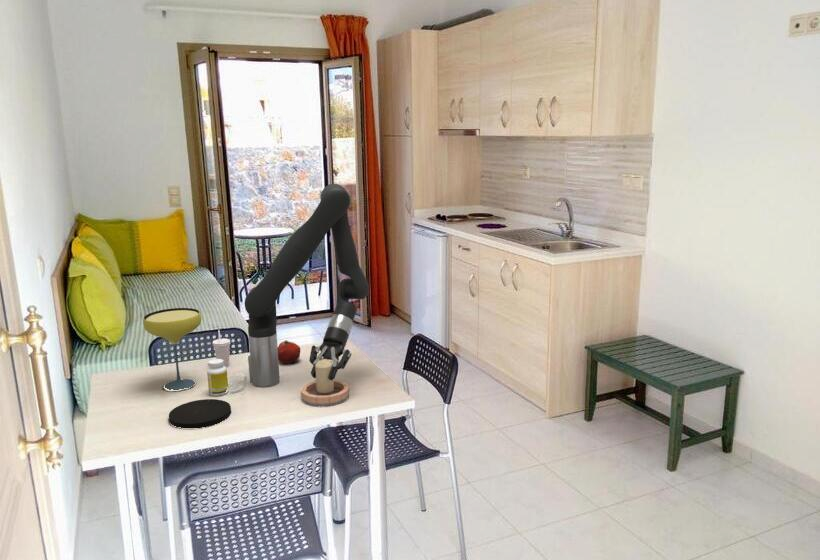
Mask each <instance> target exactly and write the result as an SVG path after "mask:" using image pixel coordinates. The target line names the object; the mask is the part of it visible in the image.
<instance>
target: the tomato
mask: <svg viewBox="0 0 820 560" xmlns="http://www.w3.org/2000/svg"><path fill="white" fill-rule="evenodd" d="M277 346H278V361H279V362H280V363H284V364H285V363H286V364H289V363H295V362H297V361H298V360H299V358H300V357H301V356H300V355H301V347H300V345H298V344H297V343H295V342H292V341H289V340H284V341H282V342H280V343H279V344H278V345H277Z"/></svg>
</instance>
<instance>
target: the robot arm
mask: <svg viewBox="0 0 820 560" xmlns="http://www.w3.org/2000/svg"><path fill="white" fill-rule="evenodd" d="M350 205H351V196H350V194H349V192H348V191H347V189H346V188H345V187H343V186H342V185H340V184H338V183H330V184H328V185H326V186H325V187H324V188H323V189H322V190H321V193H320V201H319V204H317V207H316V208H315V210H314V211H313V213H312V214H311V215H310V217H309V218H308V219H307V220H306V221H305V222H304V223H303V224H301V226H299V227H298V228H297V229H296V230H295V231H294V232H293V233H292V234H291V236H290V237H289V238H288V239H287V240H286V242H284V244H283V246H282V247H281V249H280V250H279V252H278V253H277V255H276V257H275V258H274V260H273V262H272V264H271V265H270V267H269V269H268V271H267V272H266V274H265V275H264V276H263V278H262V279H261V280H260V282H259V283H258V284H257V285H256V286H254V287H253V288H251V289H250V290H249V292H248V293H247V294H246V296H245V298H244V308H245V311H246V313H247V314H248V327H247V328H248V329H247V332H248V344H249V345H248V346H249V355H248V357H247V363H248V375H249V376H248V377H249V384H252V385H253V386H255V387H259V388H264V387H265V388H266V387H267V388H268V387H271V386H275V385H277V384H279V383H280V379H281V378H280V365H279V364H280V363H279V362H280V361H279V360H278V346H279V345H278V334H277V323H278V322H277V317H278V316H277V303H276V302H277V300H278V299H279V297H280V295H281V294H282V292H283V291H284V290H285V288H286V287H287V286H288V284H289V283H290V282H292V281H293V279H294V278H295V277H296V276H297V275H298V274H299V273H300V272H301V270H302V269H303V268H304V267H305V266H306V264H307V263H308V261H309V260H310V258H311V257H312V256H313V255H314V254H315V252H316V250H317V249H318V247H319V246H320V244H321V243H322V241H323V240H324V238H325V236H327V233H328V232H329V231H330V230H331V235H332V240H333V247H334V251H335V258H336V262H337V263H336V264H337V268H338V271H339V273H340V274H342V275H345V276H347V277H348V278H343V279H342V280H340V282H339V283H338V285H337V291H336V294H337V295H336V304H335V308H334V311H333V314H332V317H331V318H330V321H329V322H328V326H327V327H326V331H325V333H324V336H323V339H322V343H321V345H319V346H316V345H313V344H312V346H311V349H310V355H309V360H308V361H309V362H310V364H311V365H312V368H311V371H310V375H311V377H312V378H314V379H316V370H315V365H316V364H317V362H318V361H319V360H322V359H328V360H329V361H331V363H332V364H333V367H332V368H331V370H330V373H329V376H328V378H329V380H333V379H334V380H335V378H336V376H337V373H338V371H339V370H340V369H341V370H344V369H345V367H346V366H347V364H348V362H349V361H350V358H351V356H352V353H351V351H350V350H349V349H345V348H346V347H347V346H346V345H347V343H348V340H349V337H350V334H351V330H352V326H353V323H354V319H355V316H356V313H357V310H358V309H357V308H358V307H357V305H355V304H354V303H353V302H351V301H350V300H364V299H366V298H367V296H368V295H369V292H370V287H369V282H368V280H367V278H366V276H365V274H364V272H363V270H362V268H361V266H360V262H359V257H358V252H357V248H356V245H355V241H354V238H353V234H352V229H351V226H350V222H349V216H348V215H349V214H348V210H349V207H350ZM340 357H341V359H340Z"/></svg>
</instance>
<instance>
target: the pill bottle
mask: <svg viewBox="0 0 820 560" xmlns="http://www.w3.org/2000/svg"><path fill="white" fill-rule="evenodd" d="M223 365H224V361H223V359H217V358H213V359H210V360H209V361H208V368H207V370H206V376H207V384H208V393H209V395H211V396H212V395H213V397H219V396H220V395H221V396H224V395H226V394H225V392H226V390H227V387H228V388H229V380H228V369H227V367H225V366H223Z"/></svg>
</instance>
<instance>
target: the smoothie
mask: <svg viewBox="0 0 820 560" xmlns="http://www.w3.org/2000/svg"><path fill="white" fill-rule="evenodd" d="M217 333H218V338H217V339H214V340H213V341H212V346H213V350H214V352H215V353H214V354H215V359H223V361H224V365H223V366H225V367H226V368H228V367H229V366H230V348H231V343H232V342H231V339H230V338H221V331H220V329H218V331H217Z"/></svg>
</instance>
